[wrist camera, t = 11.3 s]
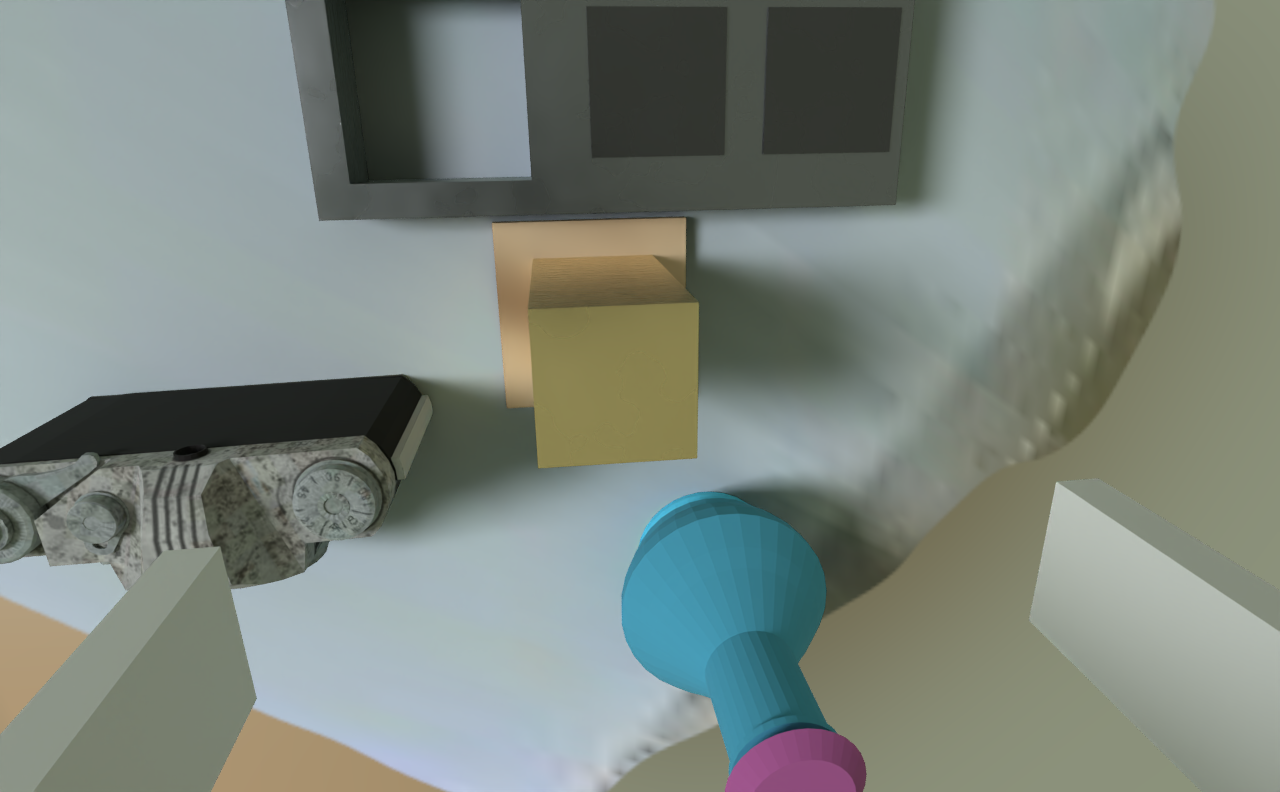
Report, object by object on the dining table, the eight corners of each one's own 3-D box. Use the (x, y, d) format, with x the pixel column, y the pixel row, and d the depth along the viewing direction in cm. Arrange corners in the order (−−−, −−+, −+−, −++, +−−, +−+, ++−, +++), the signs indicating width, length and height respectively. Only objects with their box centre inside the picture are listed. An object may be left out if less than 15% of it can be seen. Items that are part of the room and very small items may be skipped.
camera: (109, 534, 33) (-65, 691, 23) (65, 391, 31) (-148, 501, 21) (447, 504, 34) (410, 640, 25) (427, 365, 32) (379, 457, 23)
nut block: (532, 258, 30) (527, 309, 21) (652, 255, 31) (699, 302, 22) (540, 373, 32) (538, 468, 23) (653, 367, 33) (697, 458, 23)
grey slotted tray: (303, -42, 27) (274, -65, 24) (883, -36, 29) (921, -56, 26) (340, 213, 30) (318, 221, 27) (864, 199, 32) (896, 204, 29)
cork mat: (492, 222, 30) (492, 223, 30) (683, 216, 31) (686, 217, 31) (507, 404, 33) (506, 408, 32) (682, 394, 34) (685, 398, 33)
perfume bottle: (623, 642, 38) (669, 937, 24) (601, 482, 35) (640, 712, 21) (796, 613, 39) (940, 882, 25) (789, 454, 36) (950, 657, 22)
